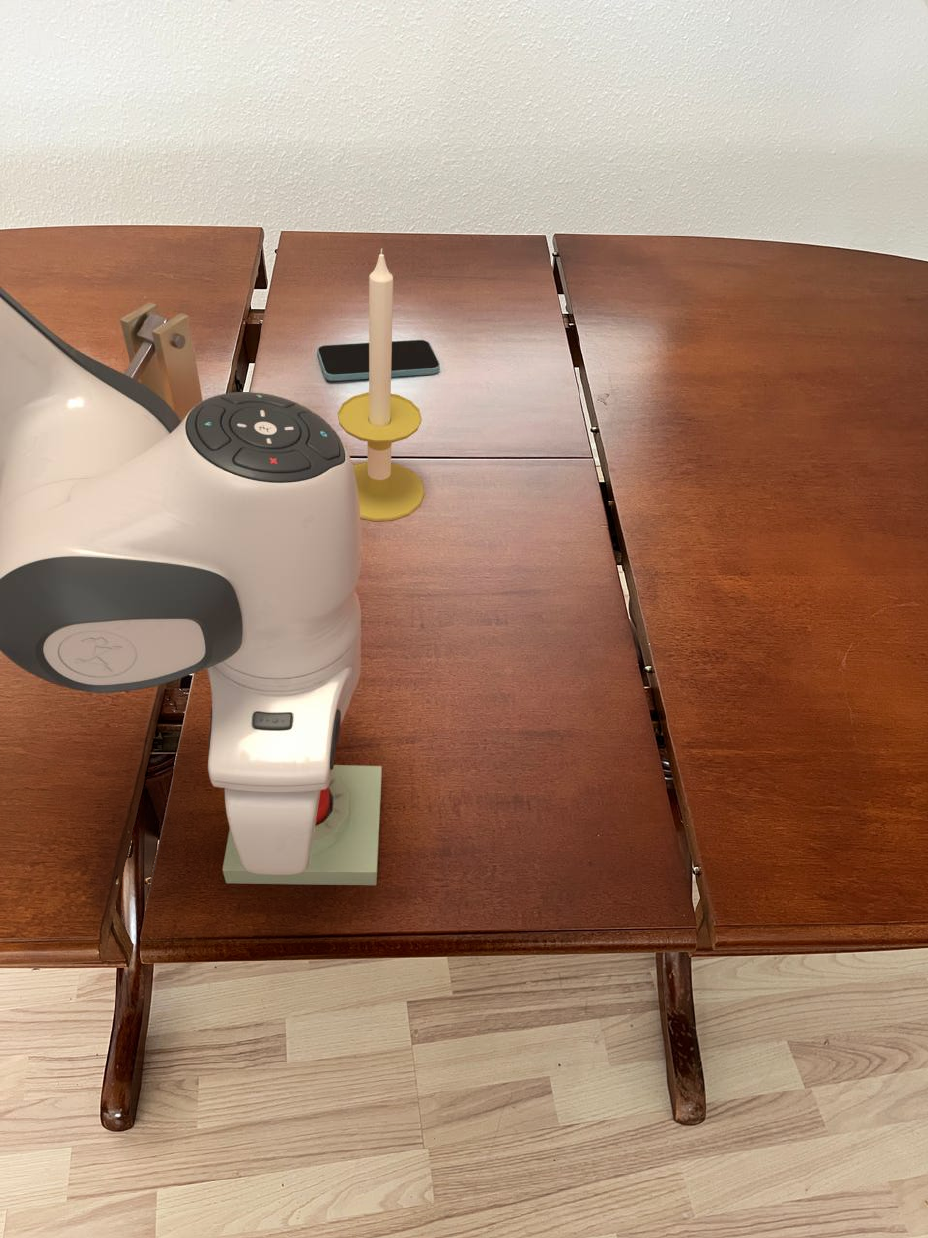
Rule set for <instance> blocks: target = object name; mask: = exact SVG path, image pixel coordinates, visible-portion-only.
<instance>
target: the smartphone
mask: <svg viewBox="0 0 928 1238" xmlns="http://www.w3.org/2000/svg"><path fill="white" fill-rule="evenodd" d="M316 355H317V358H318V362H319V365H320V368H321V371H322V373H323V377H324V378H325V379H326V380H327V381H333V382H334V381H336V382H337V381H350V380H352V381H353V380H363V379H369V342H358V343H357V342H355V343H354V342H353V343H338V344H324V345H319V346H317V349H316ZM440 366H441V364H440V361H439V359H438V357H437V354H436V353H435V351H434V349H433V347H432V345H431V343H430V342H429V341H428V340H425V339H407V340H392V358H391V378H394V377H409V376H410V377H411V376H423V375H435V374H438V373H439V372H440V368H441V367H440Z"/></svg>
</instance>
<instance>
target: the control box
mask: <svg viewBox="0 0 928 1238" xmlns="http://www.w3.org/2000/svg"><path fill="white" fill-rule="evenodd" d="M382 775H383V766H382V765H349V764H334V767H333V769H332V770H331V780H330V784H329V786H328V789H329V801H330V806H329V810H328V813H327V815H326V816H325V817H324V818H323V819H322V820H321V821H320V822H319V823H317V824H315V831H314V838H313V845H312V851H311V856H310V861H309V864H308V866H307V868H306V869H305V870H304V871H303V872H301V873H298V874H291V875H266V874H256V873H252V872H249V871H247V870H246V869H245V868H244V867H243V865H242V863H241V861H240V858H239V856H238V853H237V850H236V847H235V844H234V840H233V837H232V834H231V830H230V829H229V830H228V835H227V842H226V847H225V852H224V858H223V864H222V874H223V876H224V880H225V881H224V882H225V884H233V885H234V884H243V885H247V884H250V885H310V886H311V885H314V886H315V885H317V886H320V885H322V886H323V885H324V886H377V884H378V883H377V882H378V867H379V865H378V864H379V845H380V824H381V823H380V822H381V803H382V802H381V801H382V781H383V779H382V777H383V776H382Z"/></svg>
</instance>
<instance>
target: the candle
mask: <svg viewBox="0 0 928 1238" xmlns="http://www.w3.org/2000/svg"><path fill="white" fill-rule="evenodd" d="M368 298H369V300H368V337H369V338H368V340H369V341H368V343H369V378H368V385H369V387H368V389H369V390H368V391H367V392H363V393H360V394H357V395H353V396H351V397H350V398H348V399H347V400H345V401H344V402H342V404H341V405H340V407H339V408H338V411H337V418H338V425H339V426H340V427H341V428H342V429H343V430H344V432H345V433H346V434H347V435H349V436H350V437H351V436H352V437H353V438H355V439H357V440H359V441H363V442H367V461H364V462H361V463H358V464H353V469H354V473H355V478H356V482H357V489H358V495H359V505H360V518H361V519H362V520H365V521H366V520H367V521H372V522H387V521H395V520H399V519H402V518H404V517H407V516H409V515H411V514H412V513H413V512H414V511H416V510H417V509H418V508H419V507H420V506H421V505H422V502H423V500H424V498H425V495H426V494H425V488H424V485H423V481H422V480H421V479H420V478H419V476H418V475H417V474H416V473H415V472H414V471H413V470H411V469H409V468H408V467H406V466H403V465H401V464H399V463H395V462H392V444H393V443H397V442H400V441H402V440H406V439H408V438H409V437H411V436H412V435H414V434H415V433H417V431H419V428H420V425H421V423H422V420H423V419H422V415H421V411H420V408H419V407H418V406H417V405H416V404H415V403H414V402H413V401H412V400H411V399H409V398H405V397H404V396H402V395H399V394H396V393H392V377H391V358H392V341H393V305H394V275H393V274H392V273H391V272H390V270H389V269H388V267H387V263H386V258H385V254H384V253H383V248H382V247H381V248H380V254H378V258H377V262H376V266H375V268H374V270H373V271H372V272H371V273H370V274H369V277H368Z"/></svg>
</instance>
